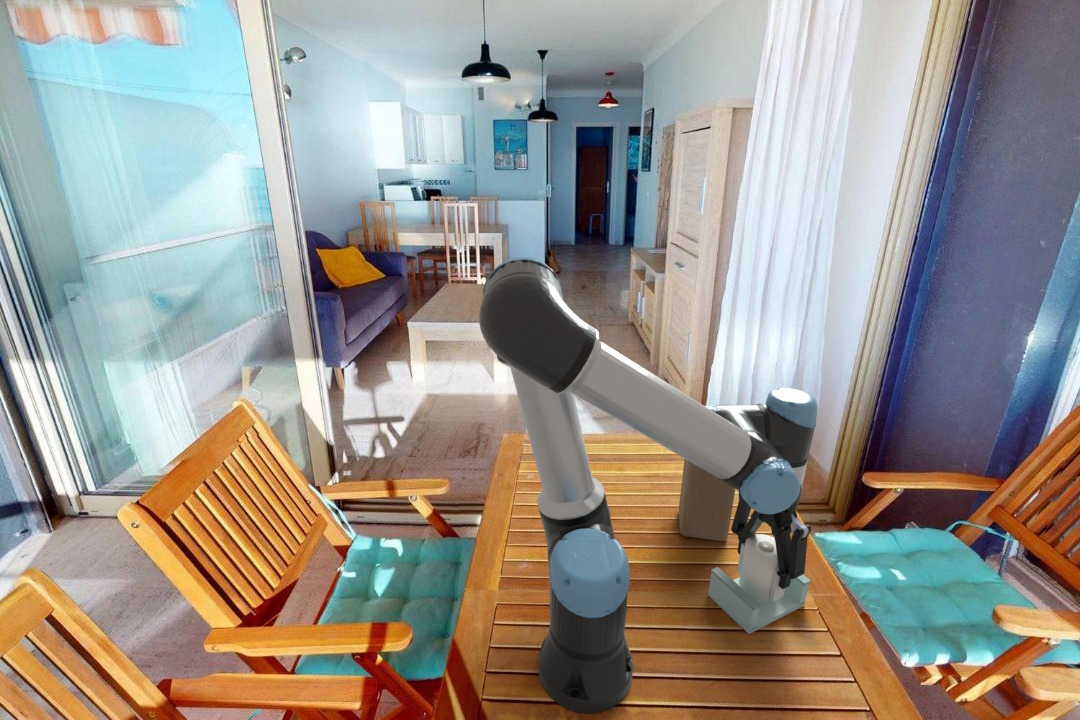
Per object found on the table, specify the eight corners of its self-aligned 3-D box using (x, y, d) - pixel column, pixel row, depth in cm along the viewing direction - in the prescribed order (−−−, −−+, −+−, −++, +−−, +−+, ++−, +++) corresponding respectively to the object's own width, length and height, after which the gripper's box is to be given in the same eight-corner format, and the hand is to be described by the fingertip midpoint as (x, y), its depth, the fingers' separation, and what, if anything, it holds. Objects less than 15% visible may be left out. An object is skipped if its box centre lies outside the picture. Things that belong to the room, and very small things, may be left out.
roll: (760, 606, 98) (767, 564, 94) (730, 580, 104) (737, 540, 100) (788, 592, 101) (796, 551, 97) (758, 568, 106) (765, 528, 103)
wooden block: (727, 544, 118) (740, 463, 110) (679, 537, 120) (688, 457, 112) (722, 515, 127) (734, 438, 120) (678, 509, 129) (686, 434, 121)
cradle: (749, 634, 96) (754, 608, 94) (707, 594, 105) (711, 569, 102) (804, 606, 102) (810, 580, 100) (761, 570, 111) (765, 546, 108)
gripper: (847, 503, 87) (820, 614, 95) (749, 445, 103) (734, 544, 112) (814, 517, 84) (790, 630, 92) (719, 455, 100) (706, 556, 109)
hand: (759, 583), depth 102 cm, fingers closed on roll, 7 cm apart
